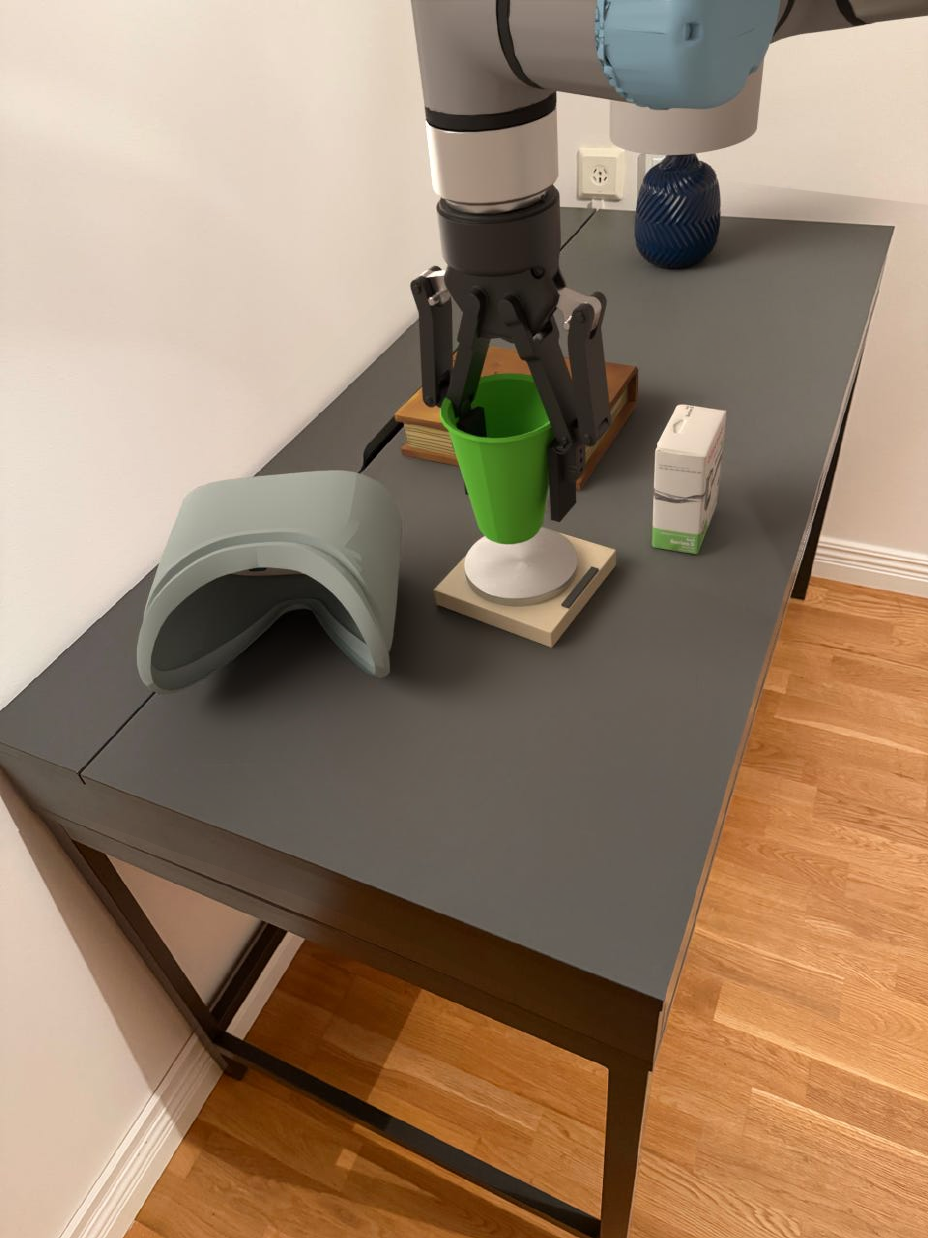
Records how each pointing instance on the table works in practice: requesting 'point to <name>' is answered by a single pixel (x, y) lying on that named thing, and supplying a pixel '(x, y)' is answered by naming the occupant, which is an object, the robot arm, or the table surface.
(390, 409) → the table surface
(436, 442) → the diary
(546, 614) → the scale
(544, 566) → the scale pan
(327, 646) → the table surface
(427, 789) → the table surface
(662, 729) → the table surface
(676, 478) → the ink box
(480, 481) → the cup
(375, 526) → the grey arched shell
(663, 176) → the lamp
